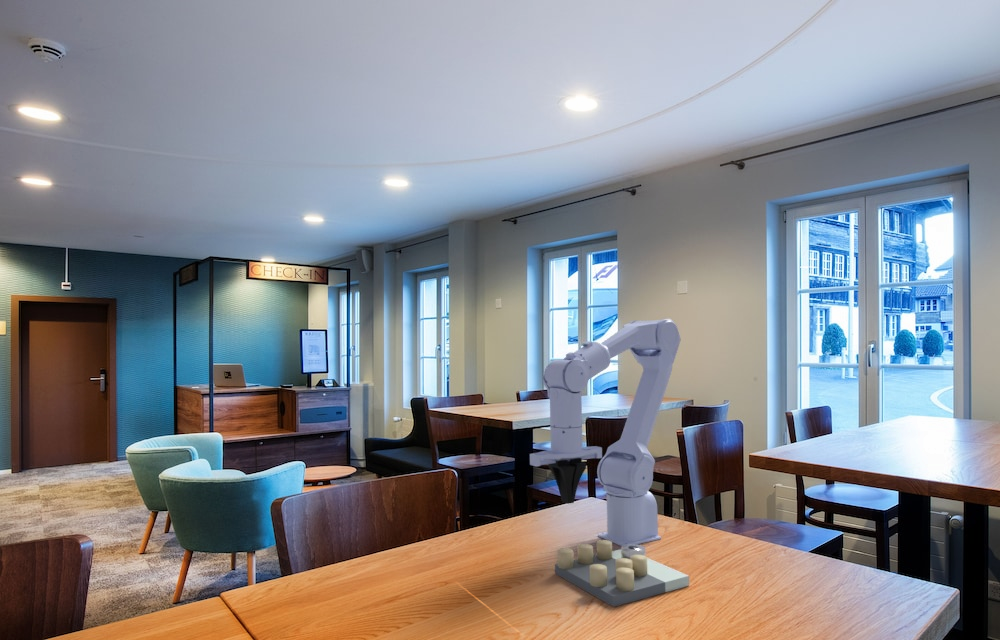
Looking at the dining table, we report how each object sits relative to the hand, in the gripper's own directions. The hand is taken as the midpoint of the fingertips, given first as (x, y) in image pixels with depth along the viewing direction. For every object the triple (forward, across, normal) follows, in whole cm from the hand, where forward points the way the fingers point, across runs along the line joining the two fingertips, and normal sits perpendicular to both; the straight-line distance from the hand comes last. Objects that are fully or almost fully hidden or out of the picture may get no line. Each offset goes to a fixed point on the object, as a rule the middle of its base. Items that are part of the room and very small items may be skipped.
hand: (567, 502), depth 110 cm
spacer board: (+9, 0, +14) cm, 16 cm away
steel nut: (+8, -5, +11) cm, 15 cm away
